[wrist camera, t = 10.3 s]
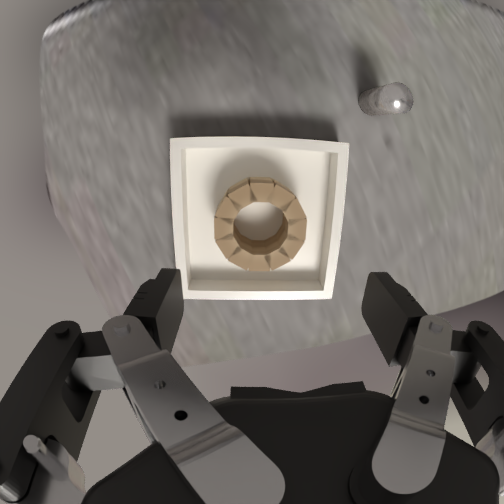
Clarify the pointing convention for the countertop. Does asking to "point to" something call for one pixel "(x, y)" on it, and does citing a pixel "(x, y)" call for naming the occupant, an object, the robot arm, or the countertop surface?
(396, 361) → the robot arm
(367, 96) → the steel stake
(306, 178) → the white tray
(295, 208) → the oak ring
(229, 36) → the countertop surface
